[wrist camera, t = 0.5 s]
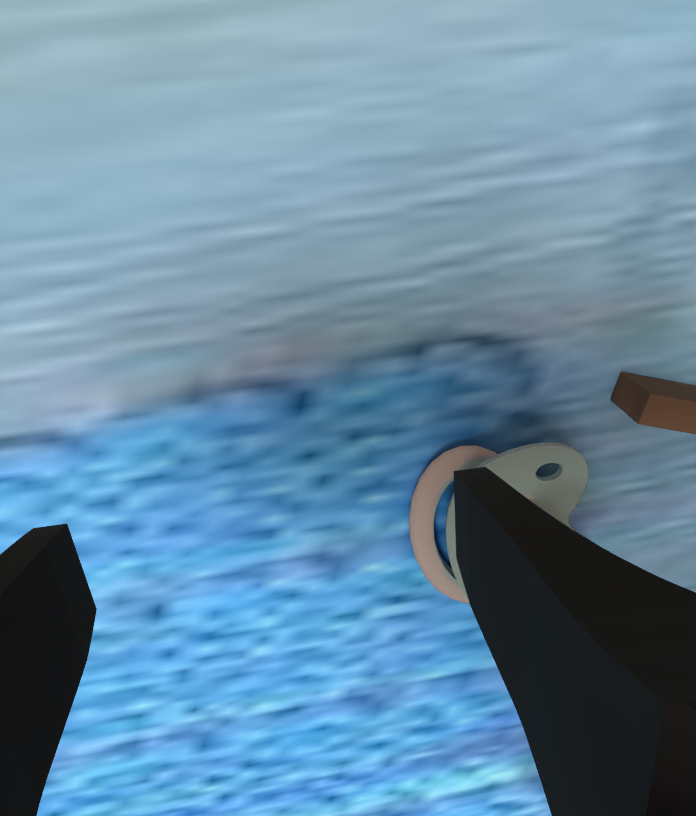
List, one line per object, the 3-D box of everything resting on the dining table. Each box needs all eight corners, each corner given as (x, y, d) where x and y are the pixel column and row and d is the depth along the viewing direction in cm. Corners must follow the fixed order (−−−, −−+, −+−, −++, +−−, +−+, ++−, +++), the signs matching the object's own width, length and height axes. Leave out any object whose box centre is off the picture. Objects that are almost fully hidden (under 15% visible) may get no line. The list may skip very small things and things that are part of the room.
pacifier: (421, 609, 25) (580, 584, 25) (447, 750, 19) (654, 722, 19) (393, 436, 22) (571, 406, 22) (413, 542, 17) (655, 504, 16)
